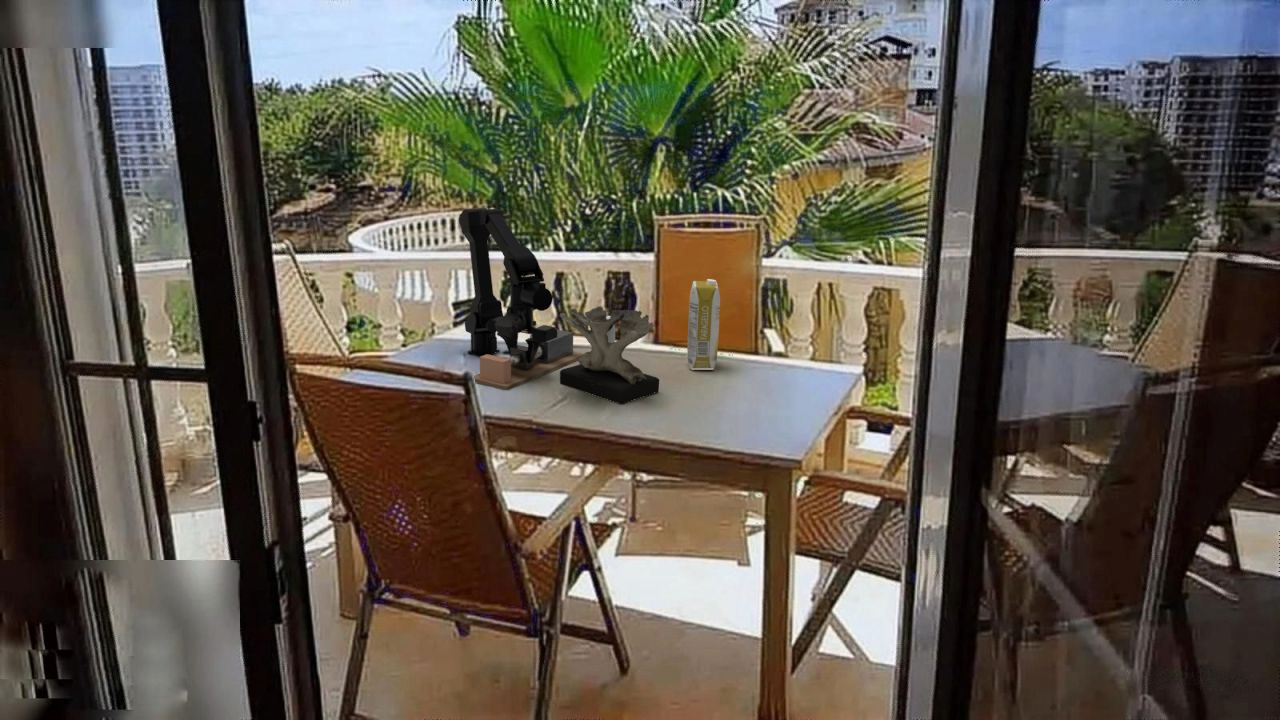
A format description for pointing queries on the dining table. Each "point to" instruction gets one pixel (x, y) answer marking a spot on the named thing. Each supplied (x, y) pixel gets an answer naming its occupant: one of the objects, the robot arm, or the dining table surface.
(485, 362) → the reddish brown block
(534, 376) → the walnut board
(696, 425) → the dining table surface
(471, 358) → the dining table surface
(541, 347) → the steel tube
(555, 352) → the sleeve
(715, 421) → the dining table surface
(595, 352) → the coral
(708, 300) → the juice carton
